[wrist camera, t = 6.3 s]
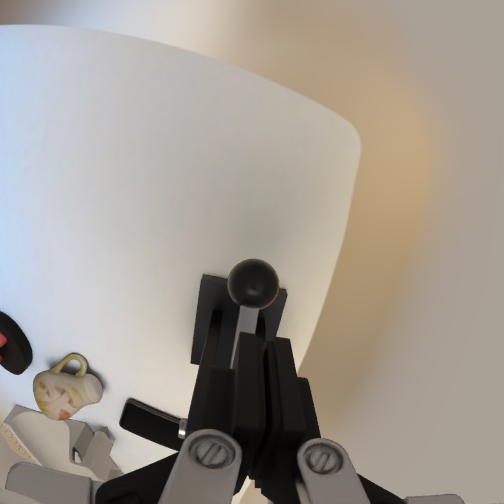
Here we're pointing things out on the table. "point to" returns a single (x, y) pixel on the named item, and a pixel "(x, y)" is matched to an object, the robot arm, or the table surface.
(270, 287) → the lever
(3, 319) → the figurine
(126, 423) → the smartphone
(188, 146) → the table surface
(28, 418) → the skate ramp
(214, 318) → the bracket
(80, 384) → the mug
